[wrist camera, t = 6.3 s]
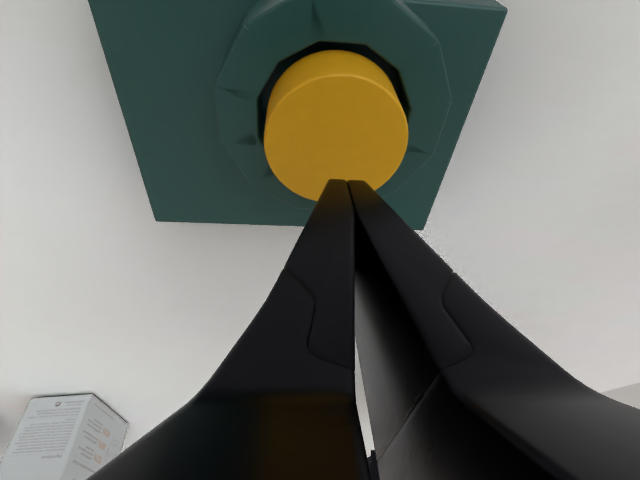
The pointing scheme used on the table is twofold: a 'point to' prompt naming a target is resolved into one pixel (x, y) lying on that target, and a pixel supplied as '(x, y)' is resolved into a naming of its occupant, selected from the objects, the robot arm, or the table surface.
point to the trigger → (334, 123)
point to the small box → (63, 439)
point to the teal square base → (258, 81)
